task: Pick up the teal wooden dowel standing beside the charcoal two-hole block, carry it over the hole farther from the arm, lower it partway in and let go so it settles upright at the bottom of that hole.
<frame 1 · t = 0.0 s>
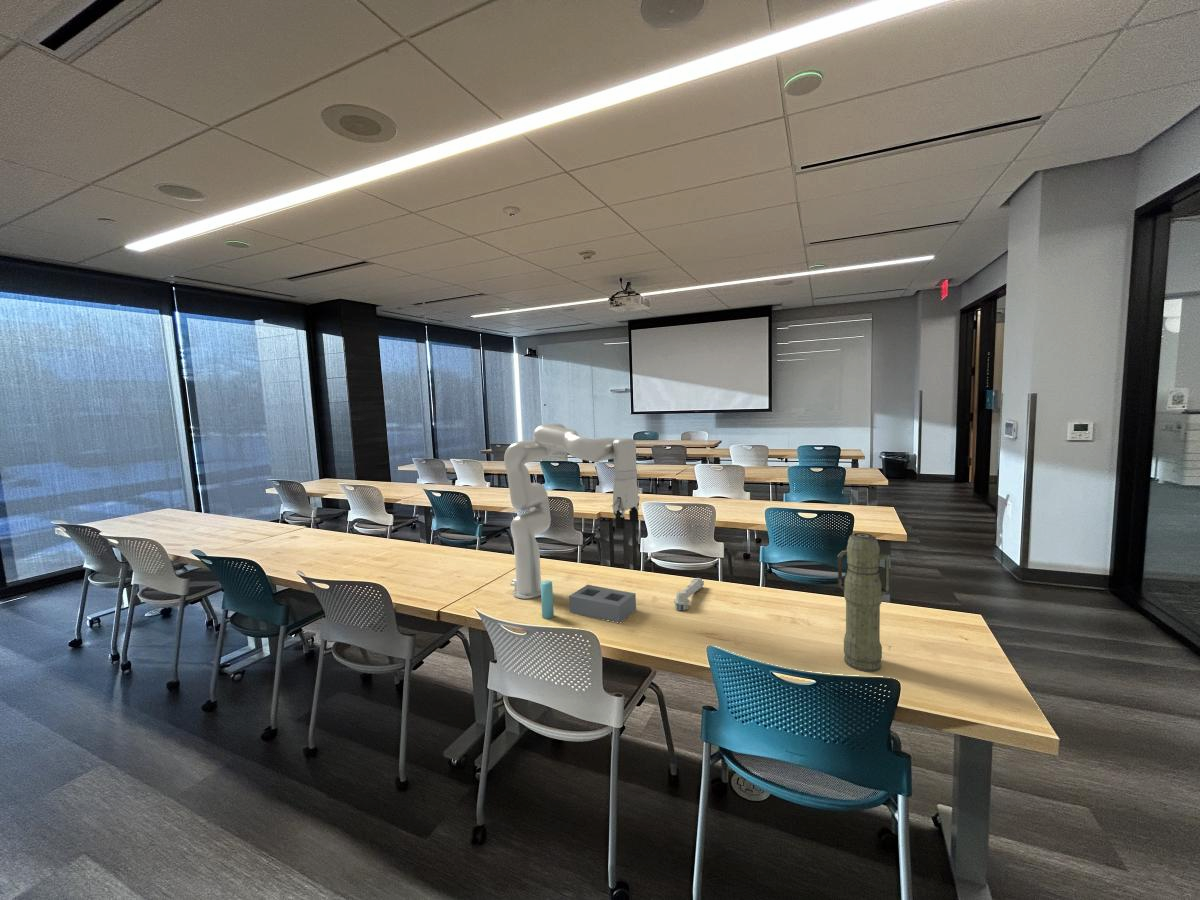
hand: (627, 525, 163), 31 cm above the table, tool pointing down, fingers open, 9 cm apart
teal dowel: (548, 616, 167), on the table
thermos: (862, 663, 129), on the table
grey handheld tool: (689, 599, 177), on the table
hole block: (602, 611, 169), on the table
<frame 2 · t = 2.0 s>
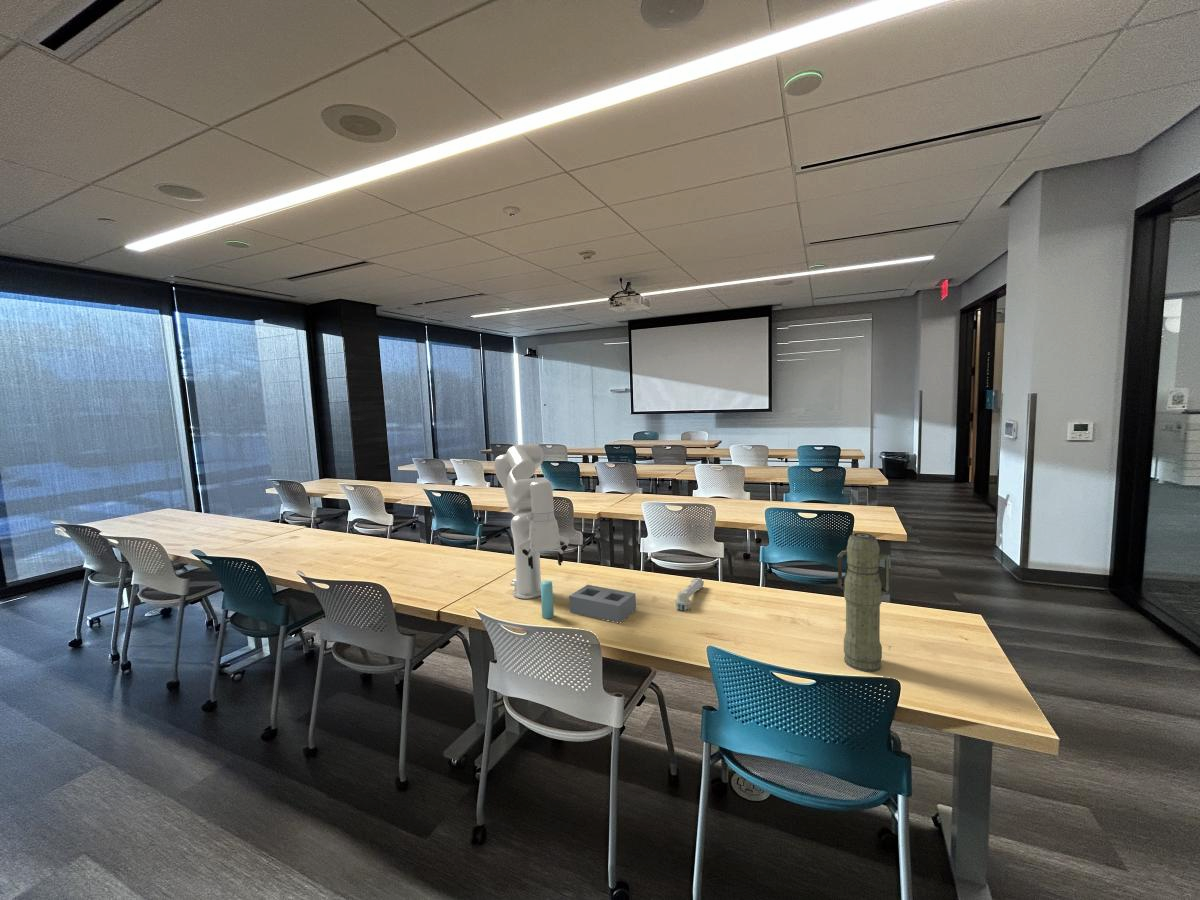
hand: (545, 566, 165), 18 cm above the table, tool pointing down, fingers open, 9 cm apart
nothing on the table moved.
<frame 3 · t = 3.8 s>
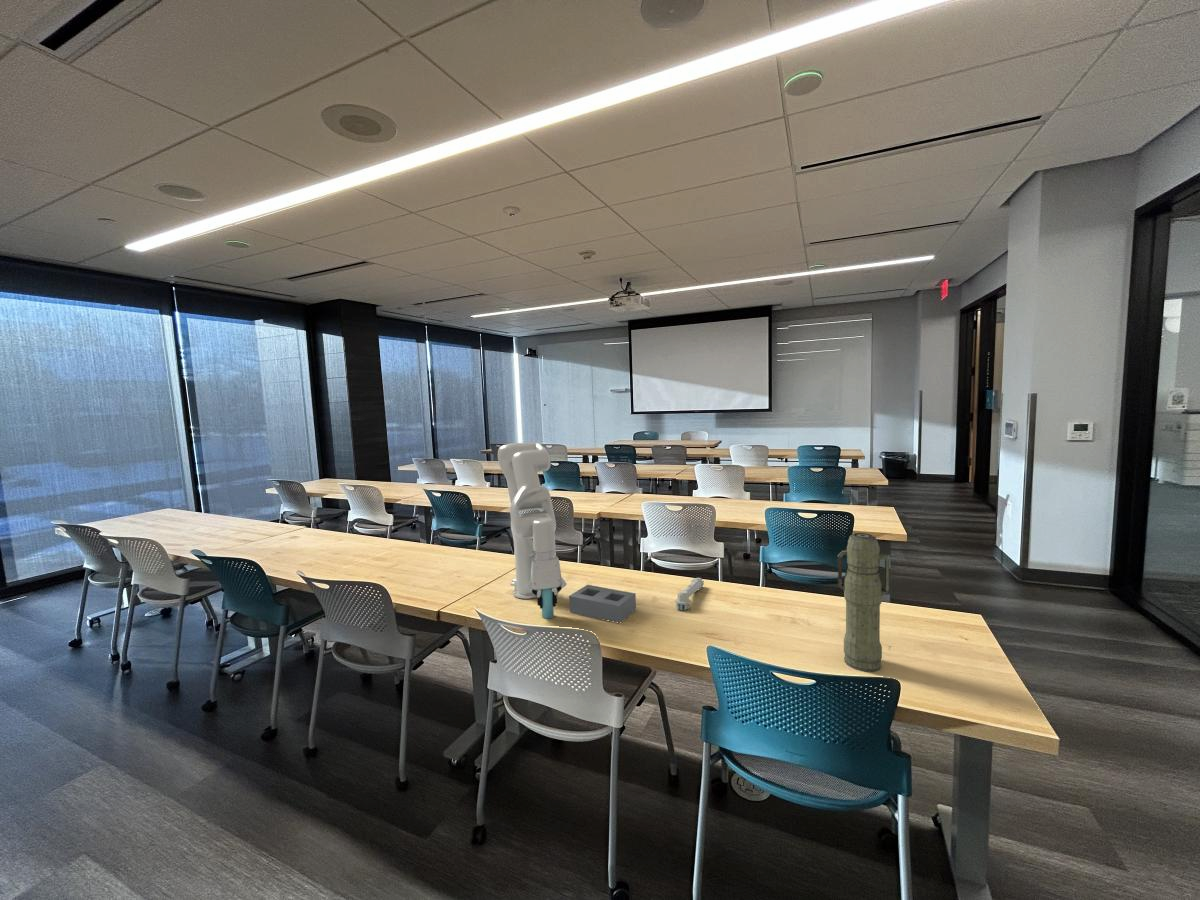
hand: (547, 605, 166), 4 cm above the table, tool pointing down, fingers closed on teal dowel, 4 cm apart
teal dowel: (548, 616, 167), on the table, touching gripper
everything else where it was.
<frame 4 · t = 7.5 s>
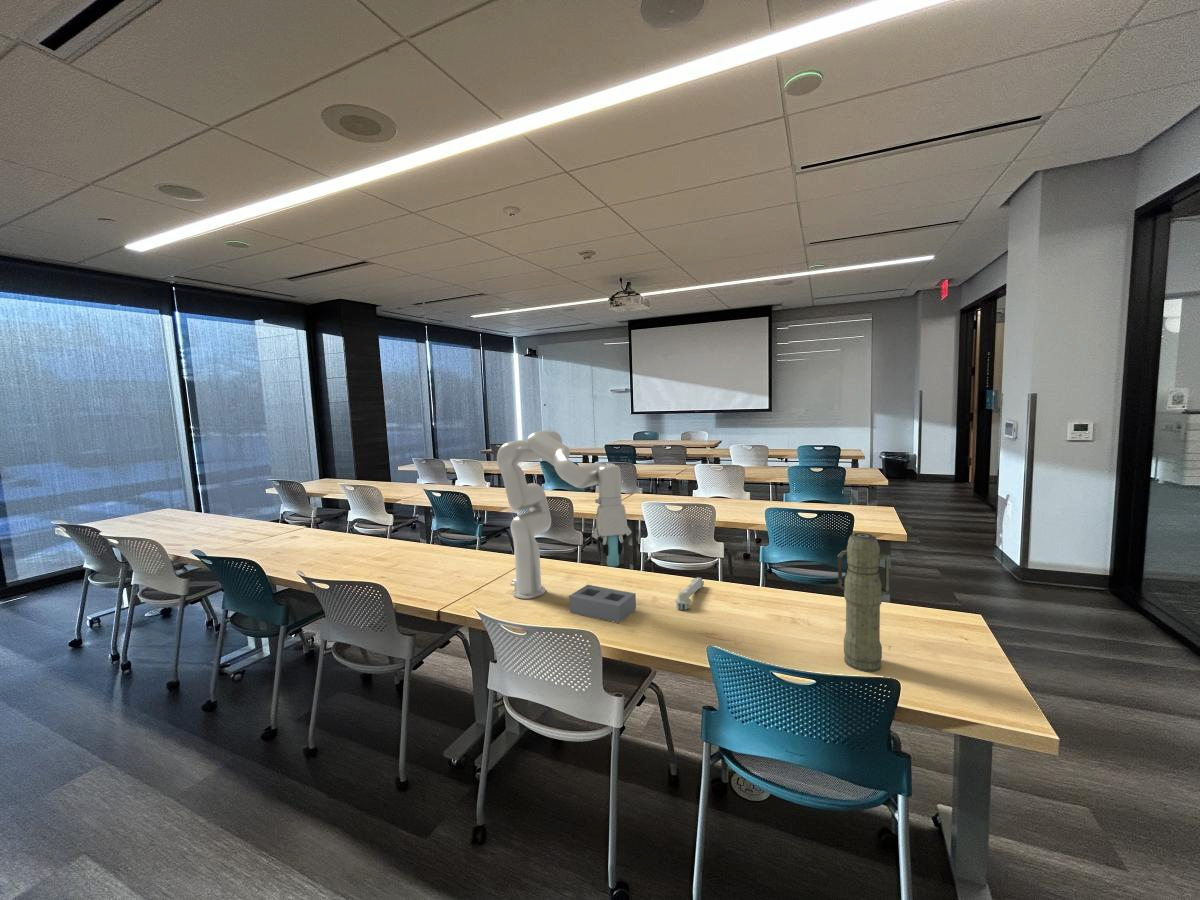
hand: (612, 553, 165), 21 cm above the table, tool pointing down, fingers closed on teal dowel, 4 cm apart
teal dowel: (613, 564, 165), point 18 cm above the table, touching gripper
everything else where it was.
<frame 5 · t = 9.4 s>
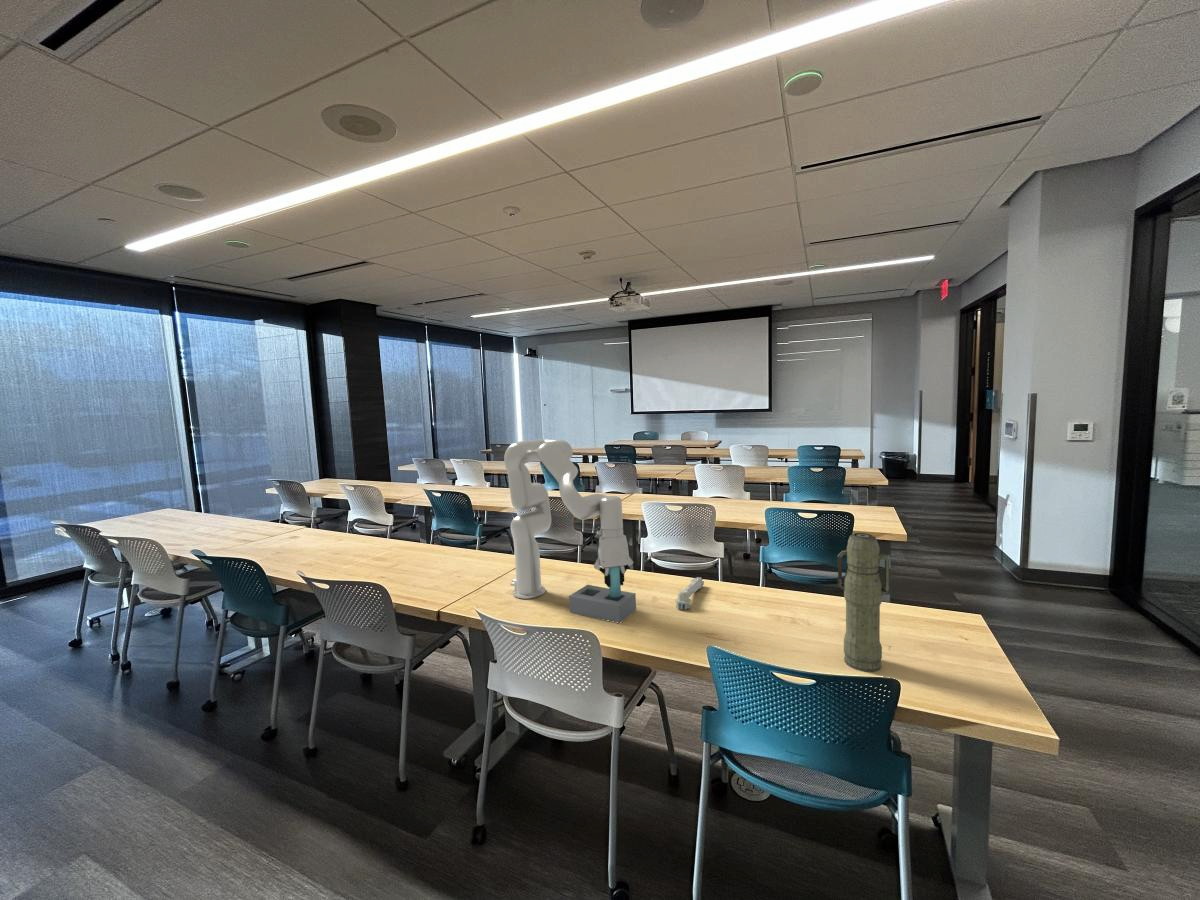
hand: (614, 584, 165), 11 cm above the table, tool pointing down, fingers closed on teal dowel, 4 cm apart
teal dowel: (615, 595, 166), point 7 cm above the table, touching gripper
everything else where it was.
when the fingers open (7 cm above the table, at t = 11.1 s): teal dowel drops 2 cm, resting on hole block.
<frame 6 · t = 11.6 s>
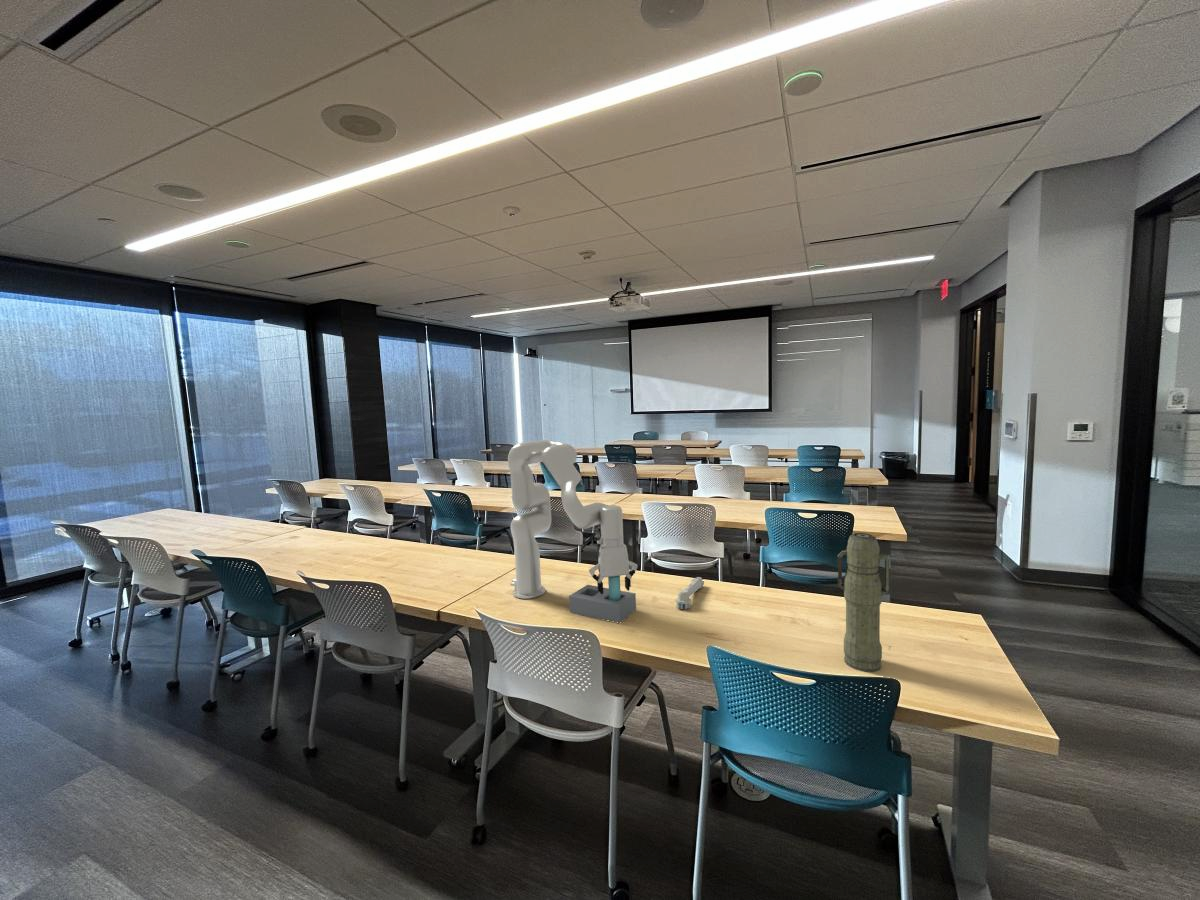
hand: (614, 590, 166), 8 cm above the table, tool pointing down, fingers open, 9 cm apart
teal dowel: (615, 609, 166), point 2 cm above the table, touching hole block
everything else where it was.
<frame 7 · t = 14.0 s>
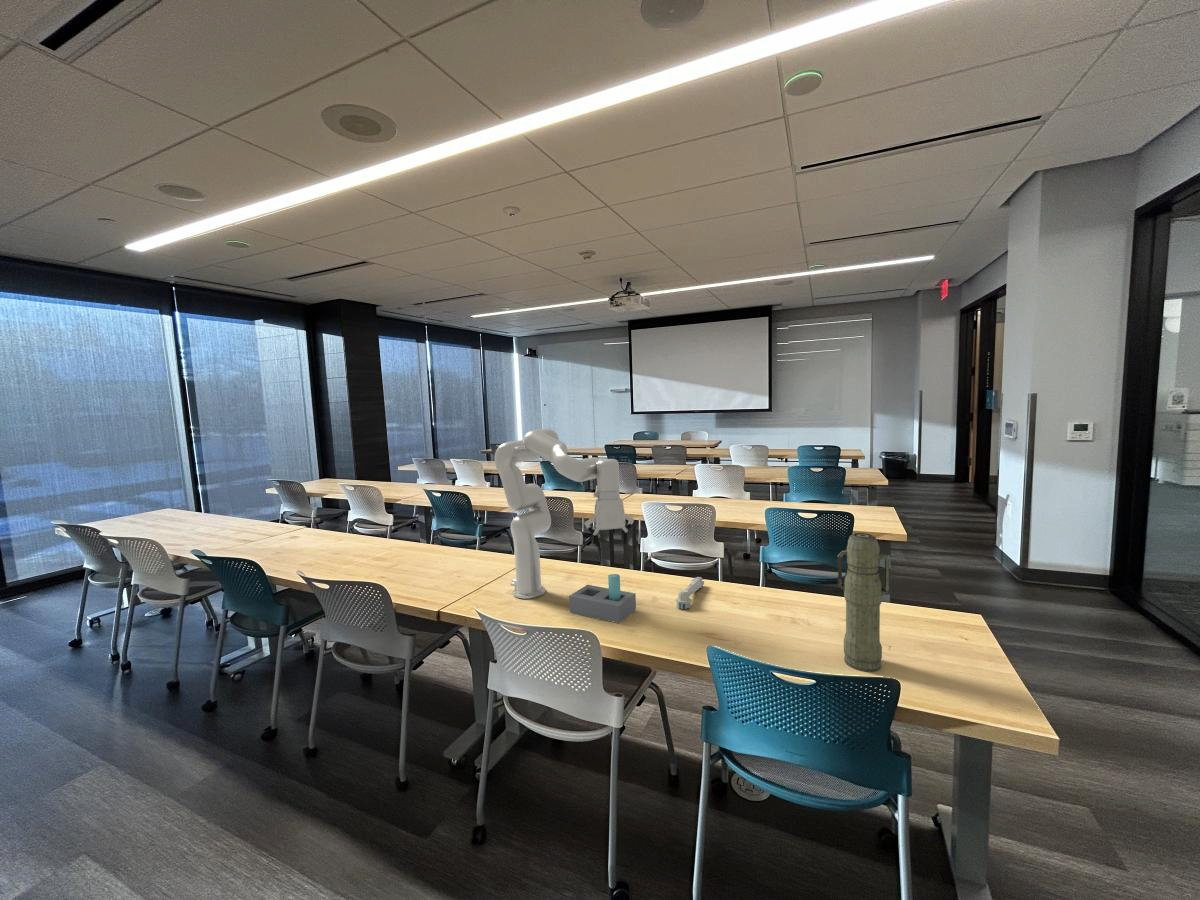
hand: (610, 544, 166), 24 cm above the table, tool pointing down, fingers open, 9 cm apart
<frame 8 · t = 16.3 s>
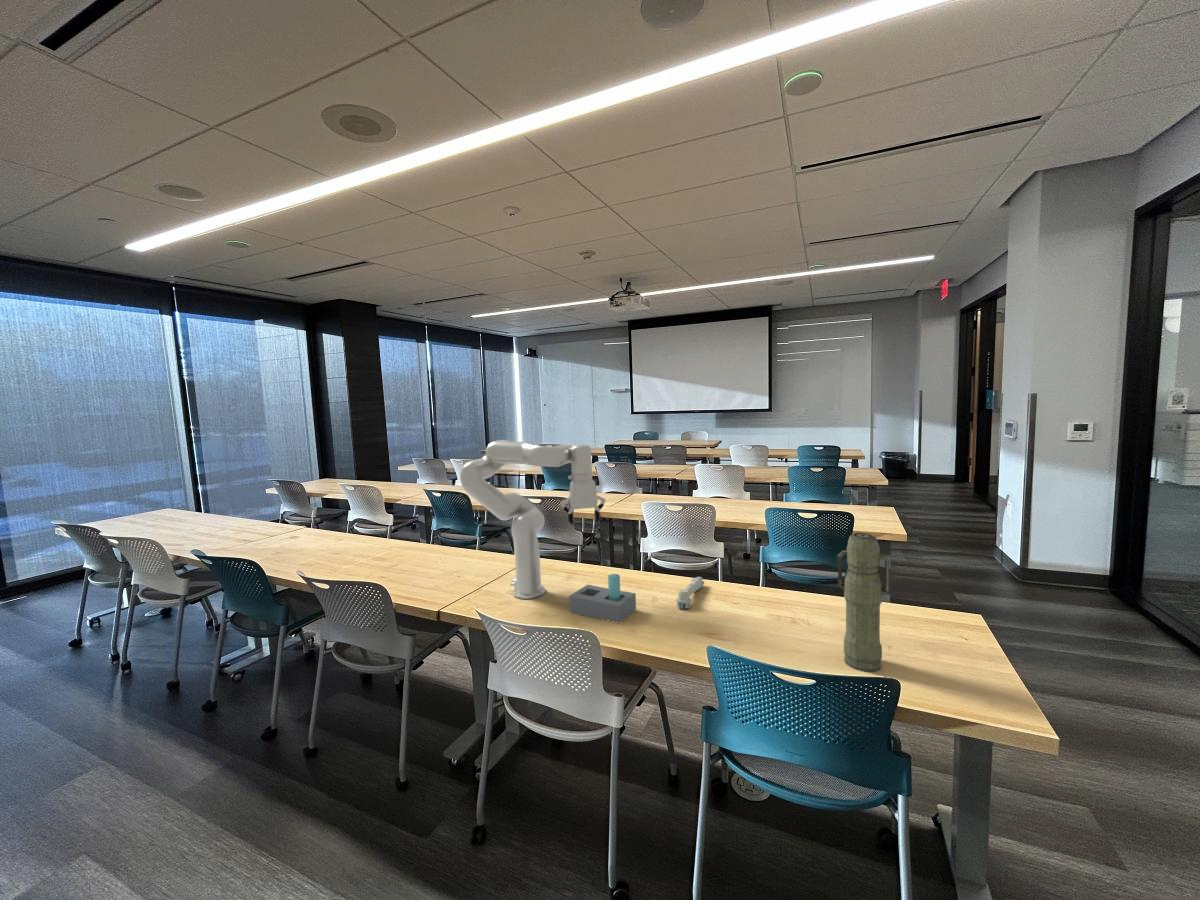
hand: (584, 522, 182), 28 cm above the table, tool pointing down, fingers open, 9 cm apart
at the end: teal dowel 0.1 cm from the target spot on the hole block, point 1.5 cm above the hole block's base; teal dowel tilted 0°; the gripper is holding nothing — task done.
